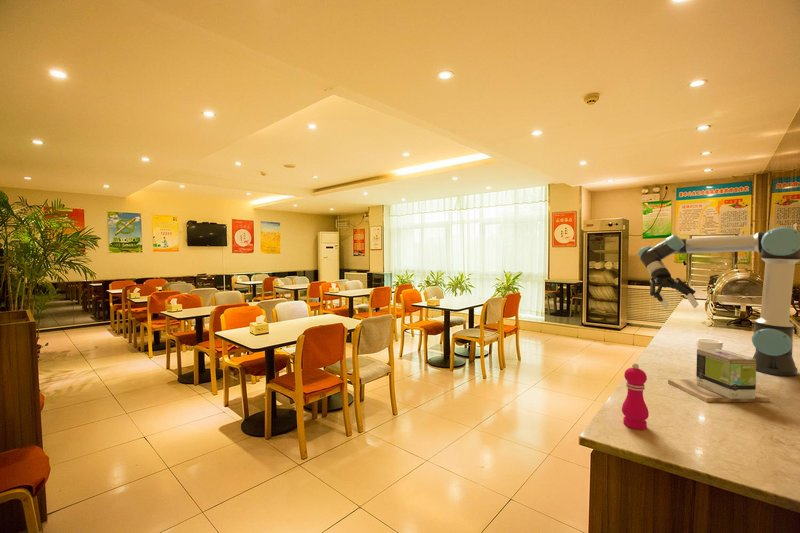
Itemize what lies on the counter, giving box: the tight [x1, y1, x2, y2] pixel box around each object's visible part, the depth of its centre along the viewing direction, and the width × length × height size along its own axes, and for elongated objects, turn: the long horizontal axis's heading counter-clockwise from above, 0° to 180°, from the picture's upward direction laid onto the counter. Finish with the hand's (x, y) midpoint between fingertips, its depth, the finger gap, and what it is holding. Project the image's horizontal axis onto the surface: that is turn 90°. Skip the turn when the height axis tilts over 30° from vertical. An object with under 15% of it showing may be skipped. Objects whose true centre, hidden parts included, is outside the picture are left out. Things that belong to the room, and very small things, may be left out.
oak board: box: [667, 378, 771, 403], centre depth 141 cm, size 23×19×2 cm
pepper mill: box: [621, 362, 650, 431], centre depth 115 cm, size 7×7×20 cm
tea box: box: [695, 348, 757, 399], centre depth 137 cm, size 15×10×15 cm, turn 1°
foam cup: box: [696, 337, 724, 350], centre depth 169 cm, size 10×9×13 cm
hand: (681, 306), depth 166 cm, fingers open, 13 cm apart
